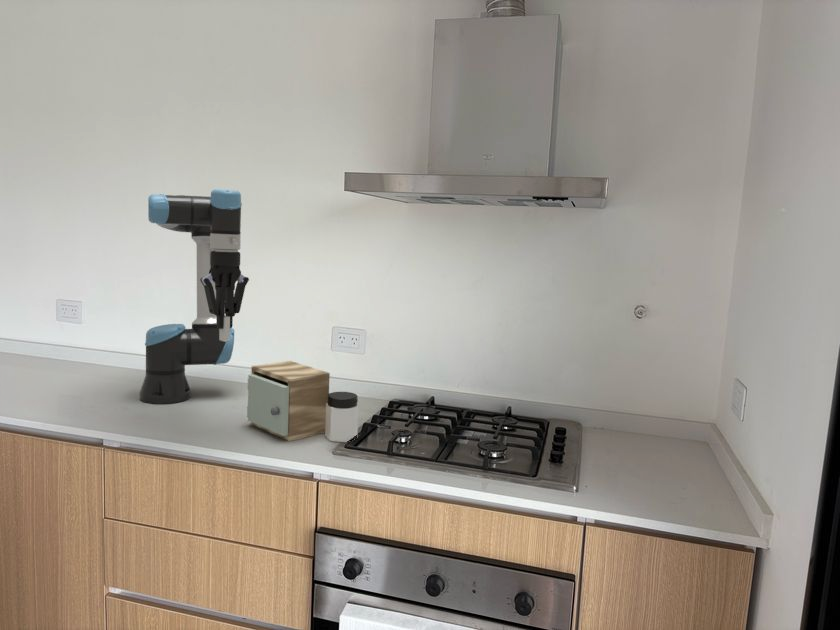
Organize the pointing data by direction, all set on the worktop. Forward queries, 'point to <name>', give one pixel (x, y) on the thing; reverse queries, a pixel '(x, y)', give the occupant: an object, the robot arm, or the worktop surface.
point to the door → (268, 404)
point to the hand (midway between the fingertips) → (224, 340)
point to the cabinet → (299, 396)
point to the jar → (341, 416)
